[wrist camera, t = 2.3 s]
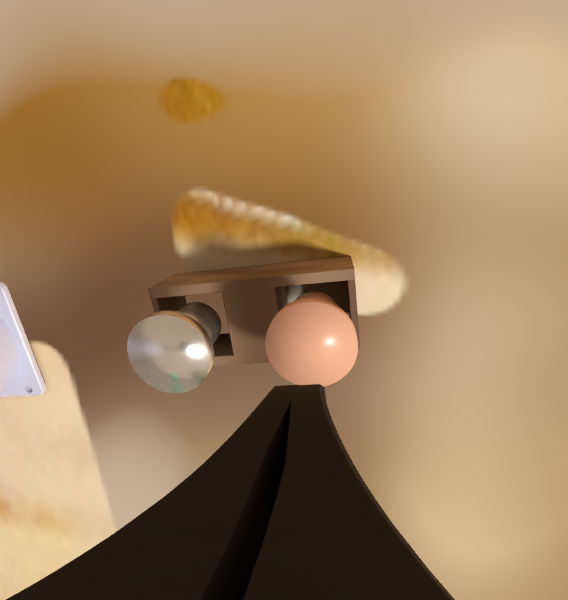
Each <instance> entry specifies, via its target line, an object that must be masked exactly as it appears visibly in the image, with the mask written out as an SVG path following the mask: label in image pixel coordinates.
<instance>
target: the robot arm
mask: <svg viewBox="0 0 568 600" xmlns="http://www.w3.org/2000/svg"><path fill="white" fill-rule="evenodd" d="M45 391H46V385H45V383H44V380H43V378H42V375H41V373H40V370H39V367H38V365H37V362H36V360H35V357H34V355H33V352H32V349H31V347H30V344H29V342H28V339H27V336H26V334H25V331H24V329H23V326H22V324H21V321H20V318H19V316H18V313H17V311H16V308H15V306H14V303H13V300H12V298H11V295H10V293H9V290H8V288H7V286H6V285H5V284H4V283H3V282H1V281H0V397H11V396H33V395H41V394H42V393H44V392H45ZM6 600H454V598H453V597H452V596H451V595H450V594H449V593H448V591H447V590H446V589H445V588H444V587H443V586H442V584H440V582H439V581H438V580H437V579H436V578H435V576H434V575H433V574H432V573H431V572H430V571H429V569H428V568H427V567H426V565H425V564H424V563H423V562H422V560H421V559H420V558H419V556H418V555H417V554H416V553H415V551H414V550H413V549H412V548H411V546H410V545H409V544H408V543H407V541H406V540H405V539H404V538H403V536H402V535H401V534H400V533H399V531H398V530H397V529H396V528H395V526H394V525H393V524H392V522H391V521H390V519H389V518H388V516H387V515H386V514H385V512H384V511H383V509H382V508H381V507H380V505H379V504H378V502H377V501H376V500H375V498H374V496H373V495H372V493H371V492H370V490H369V489H368V487H367V486H366V484H365V482H364V481H363V479H362V478H361V476H360V474H359V473H358V471H357V469H356V468H355V466H354V464H353V462H352V460H351V459H350V457H349V455H348V453H347V451H346V449H345V447H344V445H343V443H342V441H341V440H340V437H339V435H338V433H337V430H336V428H335V426H334V424H333V421H332V419H331V416H330V413H329V410H328V407H327V404H326V395H325V388H324V387H323V386H322V385H321V384H310V385H287V386H275V387H274V388H273V389H272V390H271V391H270V392H269V393H268V395H267V396H266V397H265V398H264V399H263V401H262V402H261V403H260V404H259V405H258V406H257V408H256V409H255V410H254V411H253V412H252V413H251V415H250V416H249V417H248V418H247V419H246V420H245V421H244V422H243V424H242V425H241V426H240V427H239V428H238V429H237V430H236V431H235V432H234V434H233V435H232V436H231V437H230V438H229V439H228V440H227V441H226V442H225V443H224V444H223V445H222V446H221V447H220V448H219V449H218V450H217V451H216V452H215V453H214V454H213V455H212V456H211V457H210V458H209V459H208V460H207V461H206V462H205V463H204V464H202V465H201V466H200V467H199V468H198V469H197V470H196V471H195V472H193V473H192V474H191V475H190V476H189V477H188V478H186V479H185V480H184V481H183V482H182V483H180V484H179V485H178V486H177V487H176V488H175V489H173V490H172V491H171V492H170V493H168V494H167V495H166V496H165V497H163V498H162V499H161V500H159V501H158V502H157V503H155V504H154V505H153V506H151V507H150V508H148V509H147V510H146V511H144V512H143V513H142V514H140V515H139V516H138V517H136V518H135V519H133V520H132V521H131V522H129V523H128V524H127V525H125V526H124V527H123V528H121V529H120V530H118V531H117V532H115V533H114V534H113V535H111V536H110V537H108V538H107V539H105V540H104V541H102V542H100V543H99V544H97V545H96V546H94V547H93V548H91V549H90V550H88V551H87V552H85V553H84V554H82V555H81V556H79V557H77V558H76V559H74V560H73V561H71V562H69V563H68V564H66V565H65V566H63V567H61V568H60V569H58V570H57V571H55V572H53V573H52V574H50V575H48V576H47V577H45V578H43V579H42V580H40V581H38V582H36V583H35V584H33V585H31V586H30V587H28V588H26V589H24V590H22V591H21V592H19V593H17V594H15V595H14V596H12V597H10V598H8V599H6Z"/></svg>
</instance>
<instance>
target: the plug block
mask: <svg viewBox="0 0 568 600" xmlns="http://www.w3.org/2000/svg"><path fill="white" fill-rule="evenodd" d="M345 280H347V290H348V302H349V315H350V319H351V321H352V322H353V324H354V327H355V330H356V334H357V340H358V353H357V357H360V343H359V329H358V315H357V301H356V287H355V273H354V266H353V263H352V259H351V256H346V257H336V258H327V259H317V260H308V261H298V262H289V263H279V264H270V265H260V266H251V267H241V268H231V269H222V270H212V271H203V272H193V273H184V274H175V275H173V276H171V277H169V278H168V279H166V280H164V281H162V282H160V283H159V284H157V285H155V286H153V287H151V288H149V293H150V296H151V300H152V304H153V308H154V312H159V311H167V310H170V311H178V310H179V309H180V308H182V307H183V306H184V305H186V299H185V295H194V294H205V293H216V292H222V296H223V302H224V307H225V312H226V317H227V322H228V327H229V332H230V333H228V334H220V335H219V337H218V338H217V339H216V341H215V342H214V343H213V348H214V361H213V365H212V366H214V365H231V364H250V363H266V362H270V361H269V359H268V356H267V353H266V347H265V339H266V334H267V331H268V328H269V326H270V324H271V322H272V320H273V318H274V316H275V315H276V314H277V313H278V312H279V310H280V309H282V308H283V307H284V306H286V305H287V297H286V289H285V286H291V285H302V284H313V283H323V282H334V281H345Z"/></svg>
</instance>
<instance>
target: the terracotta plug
mask: <svg viewBox="0 0 568 600" xmlns="http://www.w3.org/2000/svg"><path fill="white" fill-rule="evenodd" d="M265 347H266V353H267V356H268V359H269V361H270V363H271V365H272V366H273V367H274V369H275V370H276V371H277V372H278V373H279V374H280V375H281V376H282V377H283V378H285V379H286V380H288V381H290V382H292V383H294V384H297V385H310V384H321V385H322V386H327V385H330V384H333V383H335V382H337V381H338V380H340V379H341V378H343V377H344V376H345V375H346V374H347V373H348V372H349V371H350V370H351V368H352V367H353V365H354V363H355V361H356V358H357V353H358V340H357V334H356V330H355V327H354V324H353V322H352V321H351V319H350V317H349V316H348V315H347V314H346V313H345V312H344V311H343V310H342V309H341V308H340V307H338V305H337V303H336V302H335V301H334V299H333V298H331V297H330V296H329V295H327V294H325V293H322V292H316V291H315V292H308V293H305V294H303V295H301V296H299V297H298V298H297V299H296V300H295V301H293V302H291V303H289V304H287V305H286V306H284V307H283V308H282V309H280V310H279V312H278V313H277V314H276V315H275V316H274V318H273V320H272V322H271V324H270V326H269V328H268V331H267V334H266V339H265Z"/></svg>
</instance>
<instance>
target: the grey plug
mask: <svg viewBox="0 0 568 600" xmlns="http://www.w3.org/2000/svg"><path fill="white" fill-rule="evenodd" d="M220 332H221V321H220V318H219V316H218V314H217V313H216V312H215V311H214V310H213V309H212V308H211V307H210V306H208V305H206V304H204V303H200V302H192V303H188V304H186V305H184V306H183V307H182V308H180V309H179V310H178V311H170V310H167V311H159V312H155V313H153V314H151V315H149V316H148V317H146V318H145V319H144V320H142V321H140V322H139V323H138V324H137V325H136V326H135V327H134V328H133V329H132V331H131V333H130V335H129V338H128V343H127V351H128V357H129V360H130V363H131V365H132V367H133V369H134V370H135V372H136V373H137V374H138V376H139V377H140V378H141V379H142V380H143V381H145V382H146V383H147V384H149V385H150V386H152V387H154V388H156V389H158V390H161V391H164V392H169V393H183V392H187V391H190V390H192V389H194V388H196V387H197V386H198V385H200V384H201V382H202V381H203V380H204V378H205V377H206V376H207V374H208V373H209V371H210V369H211V367H212V365H213V361H214V348H213V343H214V342H215V341H216V339H217V338H218V337H219V335H220Z"/></svg>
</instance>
